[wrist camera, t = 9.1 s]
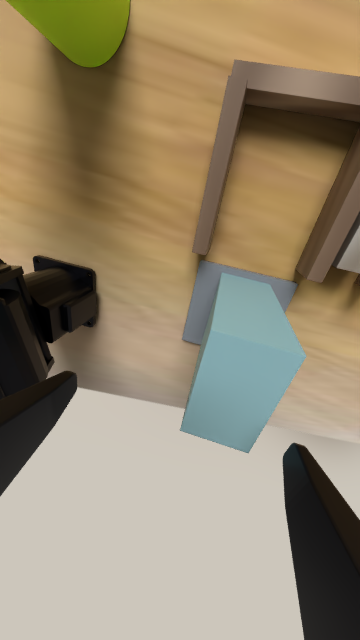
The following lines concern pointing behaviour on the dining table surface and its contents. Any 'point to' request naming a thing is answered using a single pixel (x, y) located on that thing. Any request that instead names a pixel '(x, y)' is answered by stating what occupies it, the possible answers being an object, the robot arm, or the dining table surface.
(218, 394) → the light blue rectangular prism
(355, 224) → the gray notched block
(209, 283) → the slate mat
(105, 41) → the soap dispenser
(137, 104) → the dining table surface
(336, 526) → the robot arm
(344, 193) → the walnut rack
